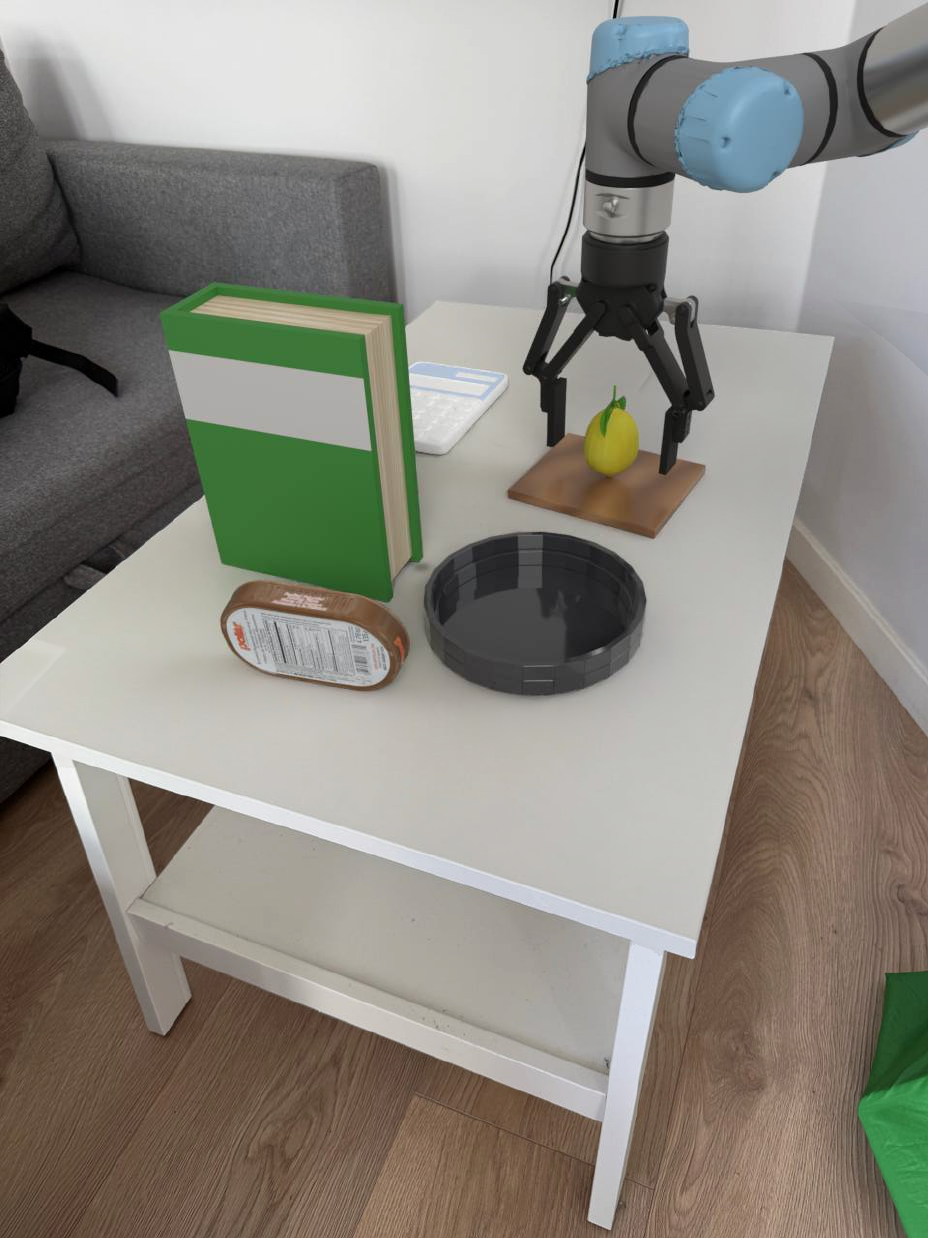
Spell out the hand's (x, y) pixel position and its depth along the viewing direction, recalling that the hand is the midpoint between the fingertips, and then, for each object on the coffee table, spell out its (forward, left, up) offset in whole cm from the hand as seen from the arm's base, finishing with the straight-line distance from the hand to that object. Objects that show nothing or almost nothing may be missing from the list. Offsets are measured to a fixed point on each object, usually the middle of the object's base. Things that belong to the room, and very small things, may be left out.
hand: (610, 454), depth 93 cm
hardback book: (+18, +25, -4) cm, 31 cm away
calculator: (+26, -6, -4) cm, 27 cm away
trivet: (0, 0, -4) cm, 4 cm away
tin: (+8, +38, -4) cm, 39 cm away
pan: (-4, +24, -4) cm, 25 cm away
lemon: (0, 0, -3) cm, 3 cm away
